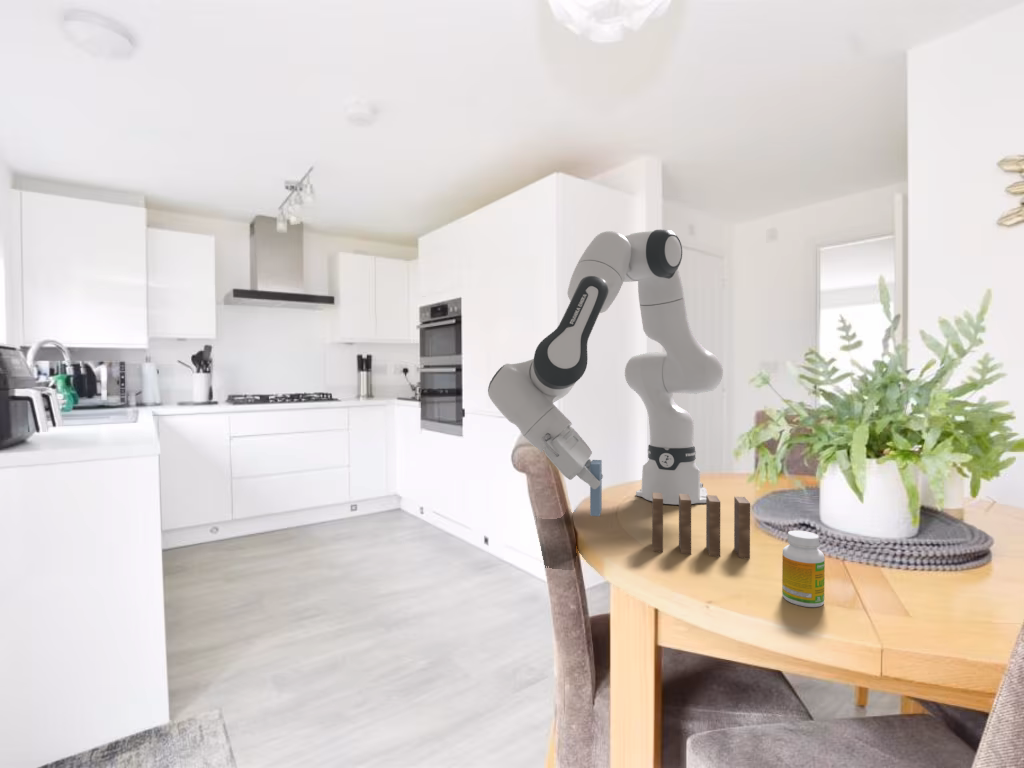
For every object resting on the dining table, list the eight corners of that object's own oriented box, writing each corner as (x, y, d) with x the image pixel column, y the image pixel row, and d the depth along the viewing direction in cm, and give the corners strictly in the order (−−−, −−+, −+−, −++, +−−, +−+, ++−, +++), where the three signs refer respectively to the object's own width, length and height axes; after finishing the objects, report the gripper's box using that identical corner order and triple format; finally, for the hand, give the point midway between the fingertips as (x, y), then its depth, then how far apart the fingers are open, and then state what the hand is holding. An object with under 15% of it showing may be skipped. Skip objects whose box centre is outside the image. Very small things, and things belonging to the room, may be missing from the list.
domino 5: (739, 558, 94) (739, 502, 94) (734, 548, 99) (734, 496, 98) (749, 558, 93) (750, 503, 93) (744, 549, 98) (744, 496, 98)
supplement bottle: (821, 611, 72) (822, 542, 72) (779, 601, 76) (779, 535, 75) (826, 598, 77) (826, 533, 77) (785, 589, 80) (786, 526, 80)
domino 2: (652, 551, 97) (653, 498, 97) (652, 543, 102) (652, 492, 102) (662, 552, 97) (663, 498, 97) (661, 543, 102) (661, 492, 101)
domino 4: (709, 555, 95) (709, 501, 95) (706, 546, 100) (706, 495, 100) (720, 556, 94) (720, 501, 94) (716, 547, 99) (716, 495, 99)
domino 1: (590, 515, 100) (590, 463, 100) (592, 509, 105) (592, 459, 105) (599, 516, 100) (599, 464, 99) (601, 509, 104) (601, 460, 104)
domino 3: (680, 553, 96) (680, 499, 96) (678, 545, 101) (678, 493, 101) (691, 554, 96) (691, 500, 95) (688, 545, 100) (688, 494, 100)
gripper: (552, 426, 93) (607, 483, 91) (567, 417, 113) (613, 463, 111) (528, 450, 95) (582, 506, 92) (547, 436, 114) (592, 483, 112)
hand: (599, 483), depth 102 cm, fingers closed on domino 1, 5 cm apart
